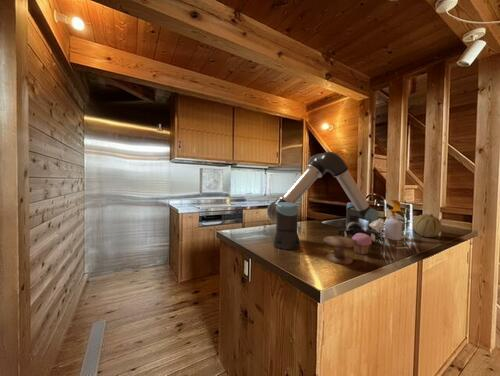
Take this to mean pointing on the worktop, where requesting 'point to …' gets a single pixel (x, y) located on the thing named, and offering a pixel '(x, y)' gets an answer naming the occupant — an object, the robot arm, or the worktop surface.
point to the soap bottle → (393, 224)
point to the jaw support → (377, 225)
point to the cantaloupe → (427, 225)
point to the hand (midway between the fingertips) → (359, 237)
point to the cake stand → (339, 249)
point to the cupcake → (362, 243)
